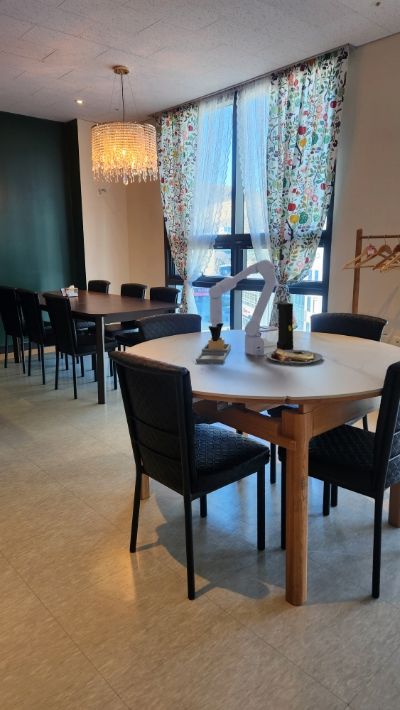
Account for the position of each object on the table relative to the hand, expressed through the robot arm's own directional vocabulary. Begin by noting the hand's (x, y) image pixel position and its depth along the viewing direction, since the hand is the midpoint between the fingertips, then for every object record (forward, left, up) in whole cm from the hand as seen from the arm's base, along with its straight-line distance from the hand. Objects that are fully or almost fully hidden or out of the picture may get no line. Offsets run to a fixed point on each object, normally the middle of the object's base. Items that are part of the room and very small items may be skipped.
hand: (216, 339), depth 227 cm
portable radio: (-8, -34, -7) cm, 36 cm away
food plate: (-29, -24, -7) cm, 38 cm away
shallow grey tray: (-12, +8, -7) cm, 16 cm away
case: (0, 0, -7) cm, 7 cm away
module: (0, 0, -6) cm, 6 cm away
